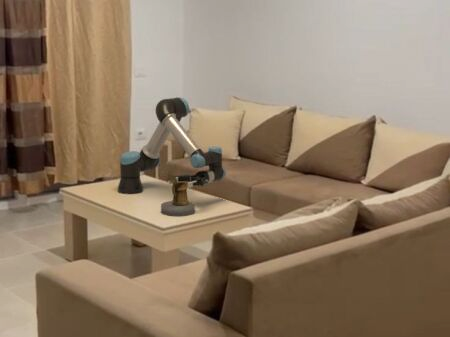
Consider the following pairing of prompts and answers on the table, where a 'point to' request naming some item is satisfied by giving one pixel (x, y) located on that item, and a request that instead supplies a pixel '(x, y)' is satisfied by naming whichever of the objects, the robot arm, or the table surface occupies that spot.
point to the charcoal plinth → (177, 209)
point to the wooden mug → (178, 192)
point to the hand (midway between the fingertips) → (178, 183)
